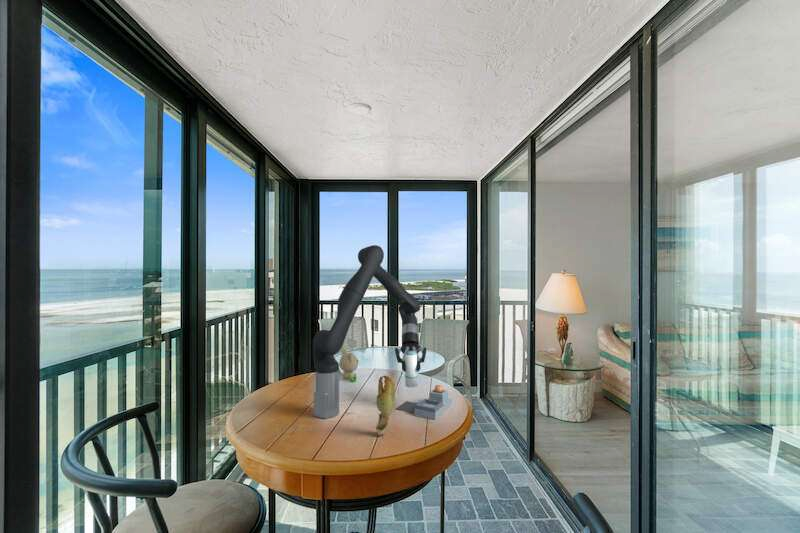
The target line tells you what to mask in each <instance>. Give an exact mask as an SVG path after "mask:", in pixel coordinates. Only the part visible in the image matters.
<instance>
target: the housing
mask: <svg viewBox="0 0 800 533" xmlns="http://www.w3.org/2000/svg"><path fill="white" fill-rule="evenodd" d="M417 403H418V404H416V405H415V409H414V413H413V414H414V416H416V417H420V418H424V419H430V420H435V421H436V420H437V419H438V418H439V417H440V416H441V415H442V414H444V413H445V412H446V411H448V409H450V407H452V405H453V404H452V399H451V398H449V391H448V390H447V389H443V393H435V388H434V389H433V390H431V391H430V392H429V398H423V399H422V400H421V401H419V402H417Z"/></svg>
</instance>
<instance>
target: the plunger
mask: <svg viewBox="0 0 800 533" xmlns="http://www.w3.org/2000/svg"><path fill="white" fill-rule="evenodd" d="M434 389H435V393H443V390H444V389H443V385H441V384H437V385H435V386H434Z"/></svg>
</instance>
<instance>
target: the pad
mask: <svg viewBox="0 0 800 533" xmlns="http://www.w3.org/2000/svg"><path fill="white" fill-rule="evenodd" d="M418 403H419V402H415V401H414V402H412V401H407V400H406V401H404V402H403V403H402V404H400V405H398V406H397V407H395V409H394V410H396V411H397V410H398V411H401V412H402V411H403V412H407V413H413V414H414V409H415V405H416V404H418Z"/></svg>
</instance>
